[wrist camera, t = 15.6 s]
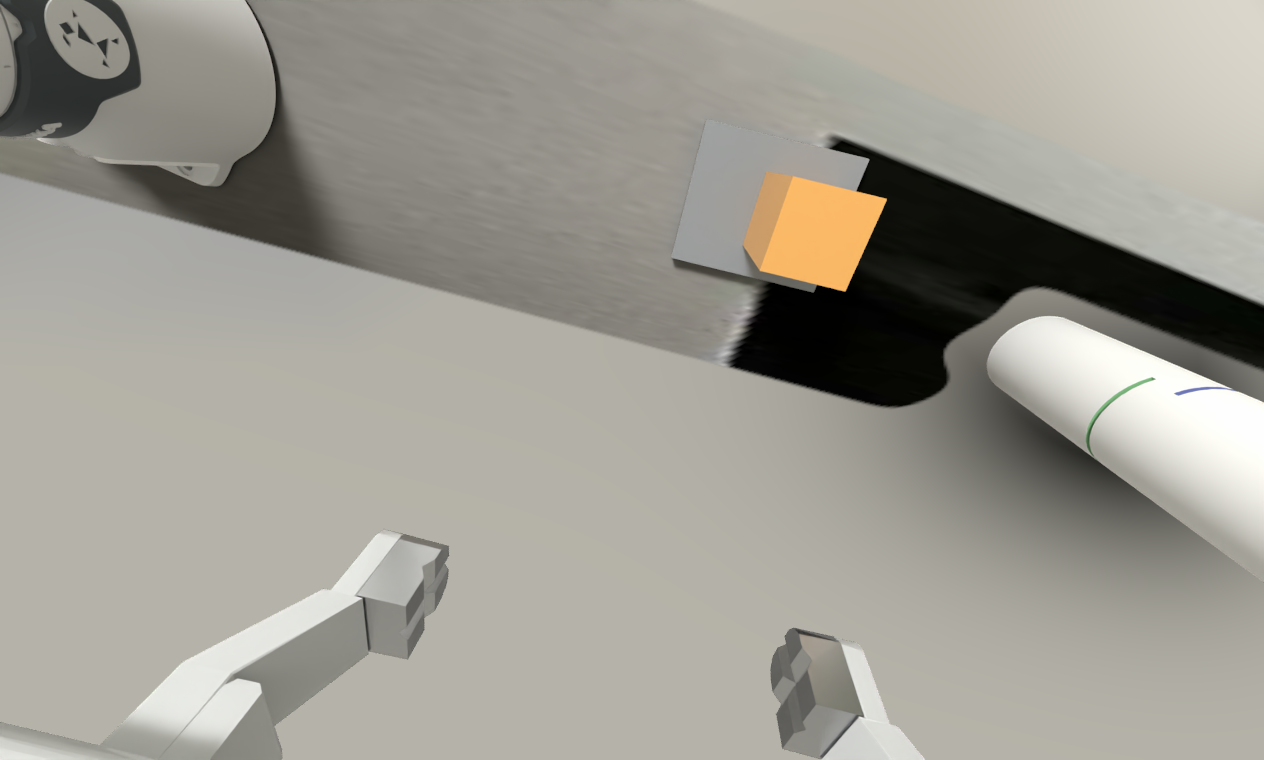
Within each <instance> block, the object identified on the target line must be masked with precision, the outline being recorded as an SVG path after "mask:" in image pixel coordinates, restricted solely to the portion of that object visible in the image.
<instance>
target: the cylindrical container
mask: <svg viewBox="0 0 1264 760" xmlns="http://www.w3.org/2000/svg"><path fill="white" fill-rule="evenodd" d="M987 373H988V376H989V378H990V380H991V381H992V382H993V384H995V385H996V386H997V387H999V388H1000V389H1001V390H1002V391H1004V392H1005V393H1007V394H1008V395H1009V396H1011V397H1012V398H1013V399H1015V400H1016V401H1017V402H1019V403H1020V404H1022V405H1023V406H1024V407H1026V408H1027V409H1028V410H1030V411H1031V412H1032V413H1034V414H1035V415H1036V416H1038V417H1039V418H1041V419H1042V420H1043V421H1045V422H1046V423H1047V424H1049V425H1050V426H1051V427H1053V428H1054V429H1055V430H1057V431H1058V432H1060V433H1061V434H1062V435H1064V436H1065V437H1066V438H1068V439H1069V440H1071V441H1072V442H1073V443H1075V444H1076V445H1077V446H1079V447H1080V448H1081V449H1083V450H1084V451H1085V452H1087V453H1088V454H1089V455H1091V456H1092V457H1093V458H1095V459H1096V460H1098V461H1099V462H1100V463H1102V464H1103V465H1104V466H1106V467H1107V468H1108V469H1110V470H1111V471H1112V472H1114V473H1115V474H1117V475H1118V476H1119V477H1121V478H1122V479H1123V480H1125V481H1126V482H1128V483H1129V484H1130V485H1132V486H1133V487H1134V488H1136V489H1137V490H1138V491H1140V492H1141V493H1142V494H1144V495H1145V496H1147V497H1148V498H1149V499H1151V500H1152V501H1153V502H1155V503H1156V504H1157V505H1159V506H1160V507H1162V508H1163V509H1164V510H1166V511H1167V512H1168V513H1170V514H1171V515H1172V516H1174V517H1175V518H1177V519H1178V520H1179V521H1181V522H1182V523H1184V524H1185V525H1186V526H1187V527H1189V528H1190V529H1192V530H1193V531H1194V532H1196V533H1197V534H1198V535H1200V536H1201V537H1203V538H1204V539H1205V540H1207V541H1208V542H1209V543H1211V544H1212V545H1214V546H1215V547H1216V548H1218V549H1219V550H1221V551H1222V552H1223V553H1224V554H1226V555H1227V556H1228V557H1230V558H1231V559H1233V560H1234V561H1235V562H1237V563H1238V564H1239V565H1241V566H1242V567H1243V568H1245V569H1246V570H1248V571H1249V572H1250V573H1252V574H1253V575H1254V576H1256V577H1257V578H1259V579H1260V580H1261V581H1263V582H1264V402H1262V401H1259V400H1256V399H1254V398H1252V397H1250V396H1247V395H1245V394H1243V393H1240V392H1237V391H1235V390H1233V389H1231V388H1228V387H1226V386H1224V385H1221V384H1219V383H1217V382H1214V381H1212V380H1210V379H1207V378H1205V377H1203V376H1200V375H1198V374H1195V373H1193V372H1191V371H1188V370H1186V369H1184V368H1181V367H1179V366H1177V365H1174V364H1172V363H1170V362H1167V361H1165V360H1163V359H1160V358H1158V357H1156V356H1153V355H1151V354H1148V353H1146V352H1144V351H1141V350H1139V349H1137V348H1134V347H1132V346H1129V345H1127V344H1125V343H1122V342H1120V341H1118V340H1115V339H1113V338H1111V337H1108V336H1106V335H1103V334H1101V333H1099V332H1096V331H1094V330H1092V329H1089V328H1087V327H1085V326H1082V325H1080V324H1077V323H1075V322H1073V321H1070V320H1068V319H1066V318H1062V317H1057V316H1043V317H1037V318H1034V319H1030V320H1027V321H1025V322H1022V323H1020V324H1018V325H1016V326H1015V327H1013V328H1012V329H1010V330H1009V331H1007V332H1006V333H1005V334H1004V335H1003V336H1001V338H1000V339H999V340H998V341H997V342H996V343H995V345H994V347H993V348H992V350H991V351H990V354H989V357H988V360H987Z"/></svg>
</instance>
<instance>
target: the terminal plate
mask: <svg viewBox="0 0 1264 760" xmlns="http://www.w3.org/2000/svg"><path fill="white" fill-rule="evenodd" d="M868 162H869V159H867V158H863V157H859V156H855V155H851V154H846V153H842V152H838V151H834V150H830V149H826V148H822V147H818V146H814V145H810V144H806V143H802V142H798V141H793V140H789V139H785V138H781V137H777V136H773V135H769V134H765V133H761V132H757V131H753V130H749V129H744V128H740V127H736V126H732V125H728V124H724V123H720V122H716V121H712V120H708V119H706V122H705V126H704V130H703V133H702V137H701V141H700V145H699V149H698V153H697V157H696V161H695V165H694V169H693V173H692V177H691V181H690V185H689V189H688V192H687V196H686V200H685V204H684V208H683V212H682V216H681V220H680V224H679V228H678V232H677V236H676V240H675V244H674V248H673V252H672V255H671V258H674V259H678V260H682V261H686V262H690V263H694V264H698V265H703V266H707V267H711V268H715V269H719V270H723V271H727V272H731V273H735V274H739V275H744V276H748V277H752V278H756V279H760V280H764V281H768V282H772V283H776V284H780V285H785V286H789V287H793V288H797V289H801V290H805V291H809V292H813V293H814V291H815V288H816V286H817V285H816V284H812V283H808V282H804V281H800V280H796V279H792V278H788V277H783V276H779V275H775V274H771V273H767V272H763V271H760V270H759V269H758V267H757V266H756V264H755V263H754V261H753V260H752V258H751V257H750V255H749V254H748V252H747V251H746V249H745V248H744V246H743V242H744V239H745V236H746V233H747V230H748V227H749V224H750V221H751V218H752V215H753V212H754V209H755V205H756V202H757V199H758V196H759V193H760V190H761V187H762V184H763V181H764V178H765V175H766V172H772V173H778V174H784V175H789V176H794V177H798V178H803V179H807V180H811V181H815V182H819V183H823V184H827V185H831V186H835V187H839V188H844V189H848V190H852V191H856V190H857V188H858V186H859V183H860V181H861V178H862V176H863V174H864V171H865V169H866V166H867V164H868Z"/></svg>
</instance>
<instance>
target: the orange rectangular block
mask: <svg viewBox="0 0 1264 760" xmlns="http://www.w3.org/2000/svg"><path fill="white" fill-rule="evenodd" d="M886 200H887V199H885V198H880V197H876V196H872V195H868V194H864V193H860V192H856V191H852V190H848V189H844V188H839V187H835V186H831V185H827V184H823V183H819V182H815V181H811V180H807V179H803V178H798V177H794V176H789V175H784V174H778V173H772V172H766V175H765V178H764V181H763V184H762V187H761V190H760V193H759V196H758V199H757V202H756V205H755V209H754V212H753V215H752V218H751V221H750V224H749V227H748V230H747V233H746V236H745V239H744V242H743V246H744V248H745V249H746V251H747V252H748V254H749V255H750V257H751V258H752V260H753V261H754V263H755V264H756V266H757V267H758V269H759V270H760V271H763V272H767V273H771V274H775V275H779V276H783V277H788V278H792V279H796V280H800V281H804V282H808V283H812V284H816V285H820V286H825V287H829V288H833V289H837V290H841V291H846V289H847V287H848V284H849V282H850V280H851V278H852V276H853V273H854V271H855V269H856V267H857V265H858V262H859V260H860V258H861V256H862V253H863V251H864V249H865V247H866V245H867V242H868V240H869V238H870V236H871V234H872V231H873V229H874V227H875V225H876V222H877V220H878V218H879V216H880V214H881V211H882V209H883V207H884V205H885V203H886Z"/></svg>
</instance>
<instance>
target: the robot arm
mask: <svg viewBox="0 0 1264 760" xmlns="http://www.w3.org/2000/svg"><path fill="white" fill-rule="evenodd" d="M275 101H276V88H275V77H274V71H273V66H272V61H271V57H270V54H269V50H268V47H267V44H266V42H265V39H264V36H263V34H262V32H261V29H260V27H259V25H258V23H257V21H256V19H255V17H254V15H253V13H252V11H251V10H250V8H249V6H248V5H247V3H246V1H245V0H0V137H3V138H8V139H34V138H37V139H38V140H40V141H42V142H45V143H49V144H52V145H57V146H63V147H71V148H73V149H74V152H75V153H76V154H78V155H81V156H84V157H89V158H95V159H96V160H97V161H99V162H103V163H110V164H133V165H156V166H159V167H161V168H163V169H165V170H168V171H170V172H172V173H175V174H177V175H179V176H181V177H184V178H186V179H188V180H190V181H193V182H195V183H197V184H200V185H203V186H220V185H221V184H223V182H224V181H225V180H226V178H227V176H228V174H229V172H230V170H231V167H232V165H233V163H234V162H235V161H237V160H238V159H239V158H241V157H243V156H245V155H246V154H248V153H250V152H251V151H253V150H254V149H255V148H256V147H257V146H258V145H259V144H260V143H261V142H262V141H263V139H264V138H265V136H266V134H267V133H268V131H269V128H270V126H271V123H272V120H273V116H274V110H275ZM448 556H449V546H447V545H443V544H439V543H435V542H432V541H427V540H424V539H420V538H416V537H413V536H409V535H406V534H402V533H397V532H393V531H389V530H385V529H383V530H382V531H380V532H379V533H378V534H376V535H375V536H374V538H373V539H372V540H371V541H370V542H369V544H368V545H367V546H366V547H365V549H364V550H363V551H362V552H361V553H360V555H359V556H358V557H357V558H356V560H355V561H354V562H353V563H352V565H351V566H350V567H349V568H348V569H347V571H346V572H345V573H344V574H343V576H342V577H341V578H340V579H339V580H338V581H337V583H336V584H335V585H334V586H333V588H332V589H331V590H328V589H322V590H320V591H318V592H316V593H315V594H312V595H311V596H309V597H307V598H305V599H303V600H301V601H299V602H297V603H295V604H293V605H292V606H289V607H288V608H286V609H284V610H282V611H280V612H278V613H276V614H274V615H272V616H271V617H268V618H267V619H265V620H263V621H261V622H259V623H257V624H255V625H253V626H251V627H249V628H247V629H245V630H243V631H242V632H240V633H238V634H236V635H234V636H232V637H230V638H228V639H226V640H224V641H222V642H221V643H218V644H216V645H215V646H213V647H211V648H209V649H207V650H205V651H203V652H201V653H199V654H197V655H195V656H193V657H192V658H190V659H188V660H186V661H184V662H182V663H181V664H180V665H179V666H178V667H177V668H176V669H175V670H174V671H173V672H172V673H171V674H170V675H169V676H168V677H167V678H166V679H165V681H163V682H162V683H161V684H160V685H159V686H158V687H157V688H156V689H155V690H154V691H153V692H152V693H151V694H150V695H149V696H148V698H146V699H145V700H144V701H143V702H142V703H141V704H140V705H139V706H138V707H137V708H136V709H135V710H134V711H133V712H132V713H131V714H130V716H129V717H127V719H125V721H123V722H122V724H121V725H119V726H118V727H117V728H116V730H114V731H113V732H112V734H111V735H109V737H107V739H105V740H104V741H103V743H102V744H101V745H96V744H91V743H87V742H83V741H79V740H74V739H70V738H66V737H62V736H58V735H53V734H49V733H45V732H41V731H36V730H32V729H28V728H23V727H19V726H15V725H11V724H6V723H2V722H0V760H282V748H281V745H280V742H279V739H278V736H277V733H276V730H275V727H274V726H275V725H276V724H277V723H279V722H280V721H281V720H283V719H284V718H285V717H287V716H288V715H289V714H291V713H292V712H293V711H295V710H296V709H297V708H298V707H300V706H301V705H302V704H304V703H305V702H306V701H308V700H309V699H310V698H312V697H313V696H314V695H316V694H317V693H318V692H319V691H321V690H322V689H323V688H325V687H326V686H327V685H329V684H330V683H331V682H333V681H334V680H335V679H336V678H338V677H339V676H340V675H342V674H343V673H344V672H345V671H347V670H348V669H350V668H351V667H352V666H353V665H355V664H356V663H357V662H359V661H360V660H361V659H363V658H364V657H365V656H367V655H368V651H370V652H375V653H379V654H384V655H389V656H394V657H399V658H403V659H408V658H409V656H410V654H411V653H412V651H413V649H414V647H415V646H416V644H417V642H418V640H419V638H420V637H421V635H422V633H423V631H424V618H425V617H426V616H428V615H429V614H431V613H432V612H434V611H435V609H436V607H437V605H438V604H439V602H440V600H441V598H442V595H443V592H444V589H445V587H446V584H447V579H448V568H447V566H446V565H445V564H444V563H445V561H446V560H447V558H448ZM785 640H786V644H785V645H783V646H781V647H778V648H777V650H776V652H775V654H774V655H773V659H772V664H771V683H772V690H773V693H774V695H775V696H776V697H777V699H778V700H779V702H780V703H781V706H780V708H779V710H778V712H777V714H776V715H777V720H778V726H779V732H780V738H781V744H782V749H785V750H789V751H792V752H796V753H800V754H804V755H807V756H811V757H814V758H818V759H822V760H925V759H924V758H923V757H922V755H921V754H920V753H919V752H918V750H917V749H916V748H915V747H914V746H913V745H912V743H911V742H910V741H909V740H908V738H907V737H906V736H905V735H904V734H903V732H902V731H901V730H900V729H899V728H898V726H896V725H892V724H890V722H889V719H888V717H887V714H886V711H885V708H884V706H883V703H882V700H881V698H880V695H879V692H878V689H877V687H876V684H875V681H874V679H873V676H872V673H871V671H870V668H869V665H868V663H867V660H866V657H865V654H864V652H863V649H862V648H861V646H860V645H859V644H858V643H855V642H852V641H847V640H843V639H838V638H834V637H832V636H828V635H824V634H819V633H815V632H810V631H805V630H801V629H797V628H792V629H790V630H789V631H788V632H787V634H786V635H785Z"/></svg>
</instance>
